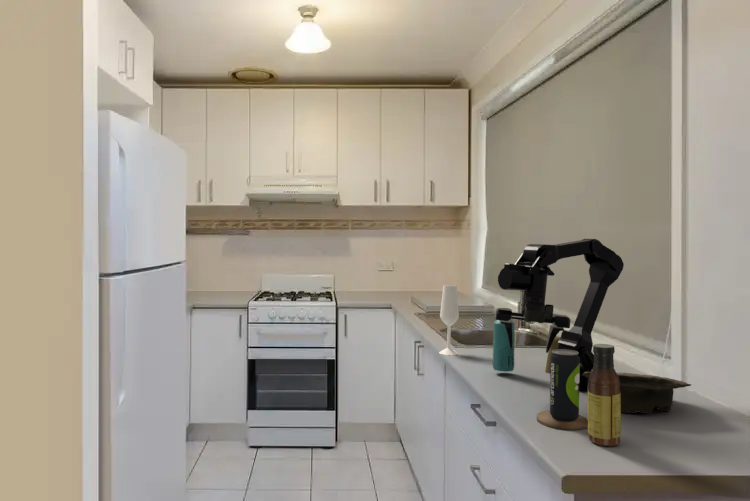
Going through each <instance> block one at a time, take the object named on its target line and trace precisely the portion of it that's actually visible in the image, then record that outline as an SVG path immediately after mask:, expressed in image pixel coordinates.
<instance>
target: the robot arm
mask: <svg viewBox="0 0 750 501" xmlns="http://www.w3.org/2000/svg"><path fill="white" fill-rule="evenodd" d="M582 255H583V256H584V258H583V259H584V261H585V262H586V263H587V264H588V265H589V267H588V275H589V279H590V282H589V284H588V286H587V289H586V292H585V294H584V297H583V300H582V302H581V305H580V308H579V310H578V312H577V316H576V318H575V320H574V323H573V326H572V327H571V318H570V317H569V316H568V315H566V314H556V313H554V304H549V303H546V296H547V286H548V285H547V284H548V276H550V277H553V276H555V272H554V271H553V270H552V269H551V268H550V266H551V265H553V264H556V263H557V262H558V261H559V260H561V259H567V258H572V257H577V256H582ZM623 270H624V261H623V259H622V257H621V256H620V255H619V254H617V253H616V252H615V251H614V250H612V249H611V248H609V247H607V246H606V245H604V244H603V243H602V242H601V241H600V240H599V239H597V238H583V239H580V240H575V241H567V242H561V243H555V244H543V243H542V244H540V243H538V244H537V243H536V244H535V243H529V244H527V245H525V247H524V249H523V251H522V253H521V254H520V256H519V257H518V259H517V260H516V261H515V263H508V262H507V263H504V265H503V268H502V269H501V270H500V271H499V273H498V275H497V283H498V286H499V287H500V289H502V290H503V291H504V290H506V291H507V290H508V291H519V292H520V291H522V292H523V294H522V303H521V312H515V311H512V309H511V308H508V309H505V308H506V307H498V308H496V310H495V315H494V316H495V321H496V320H500V323H501V324H504V325H505V328H506V331H507V334H508V339H509V344H510V348H512V322H511V320H512V321H513V320H518V321H525V322H528V323H531V322H532V323H538V324H543V323H544V324H545V323H546V324H550V325H549V330H548V335H547V340H546V346H545V353H546V354H548V351H549V349H550V347H551V345H552V343H553V340H554V339H555V337H556V336H558V334H559V333H560V332H561V335H560V337H561V338H560V340H559V341H558V343H559V345H558V349H566V350H574V351H577V352H579V354H578V356H579V357H580V377H579V391H582V392H583V391H584V392H588V382H589V378H588V377H586V376H582V374H583V373H584V372H590V371H592V370H593V367H594V352H593V345H594V343H593V338H592V332H593V329H594V327H595V324H596V321H597V318H598V315H599V314H600V311H601V308H602V305H603V303H604V300H605V297H606V294H607V292H608V289H609V287H610V286H612V285H613V284H614V283H615V282H616V281H617V280H618V279H619V277H620V276H621V273H622V271H623ZM565 329H569V330H565Z"/></svg>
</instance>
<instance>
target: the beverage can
mask: <svg viewBox="0 0 750 501" xmlns="http://www.w3.org/2000/svg"><path fill="white" fill-rule="evenodd" d="M578 354H579V352H577V351H574V350H566V349H556V350H552V354H551V369H550V373H549V375H550V376H549V378H550V380H549V381H550V383H549V389H550V390H549V411H550V414H551V415H552V417H553V418H554V419H557V420H560V421H575V420H576V419H577V418H578V417H579V415H580V390H579V377H580V357H579V356H578Z"/></svg>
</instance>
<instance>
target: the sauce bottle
mask: <svg viewBox="0 0 750 501" xmlns="http://www.w3.org/2000/svg"><path fill="white" fill-rule="evenodd" d="M615 349H616V348H615V346H614V345H612V344H607V343H596V344H593V347H592V353H593V354H594V367H593V370H592V372H591V374H590V376H589V382H588V391H587V420H588V427H587V433H588V439H589V441H590V442H591V443H593V444H595V445H597V446H601V447H602V446H603V447H616V446H618V445H620V443H621V435H622V418H621V413H622V412H621V393H620V381H619V377H618V375H617V373H618V372H616V369H615V367H614V366H615V364H614V362H615V361H614V353H615V352H616V351H615Z"/></svg>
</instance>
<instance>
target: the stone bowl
mask: <svg viewBox="0 0 750 501" xmlns="http://www.w3.org/2000/svg"><path fill="white" fill-rule="evenodd" d="M591 372H592V371H590V372H584V373H583V374H582V376H586V377H588V378H589V376H590V374H591ZM616 373H617V375H618V377H619V381H620V393H621V413H623V414H635V413H637V412H639V413H641V414H649V413H652V412H654V409H656V410H658V411H660V412H670V411H671V410H672V406H673V403H674V402H673V400H674V399H673V398H674V389H675V390H676V389H680V388H686V387H691V386H692V385H693V384H690V383H687V382H686V381H685V382H684V381H682V380H678V379H674V378H671V377H670V378H669V377H666V376H665V377H663V376H658V375H652V374H651V375H650V374H649V375H647V374H641V373H640V374H639V373H630V372H616Z"/></svg>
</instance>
